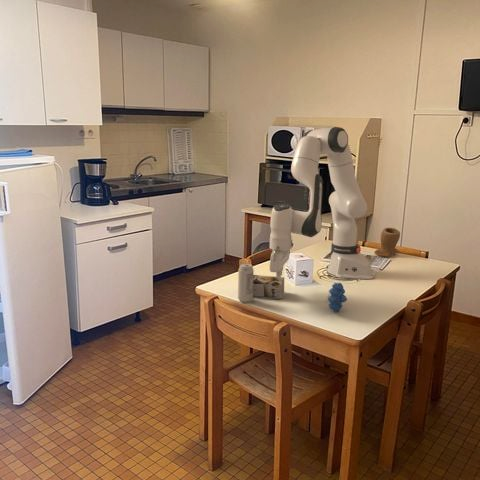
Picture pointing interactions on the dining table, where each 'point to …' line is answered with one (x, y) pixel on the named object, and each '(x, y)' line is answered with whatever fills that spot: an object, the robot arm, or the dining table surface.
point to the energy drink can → (245, 283)
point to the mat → (266, 297)
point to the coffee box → (268, 286)
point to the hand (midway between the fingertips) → (279, 276)
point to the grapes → (336, 297)
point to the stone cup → (388, 242)
